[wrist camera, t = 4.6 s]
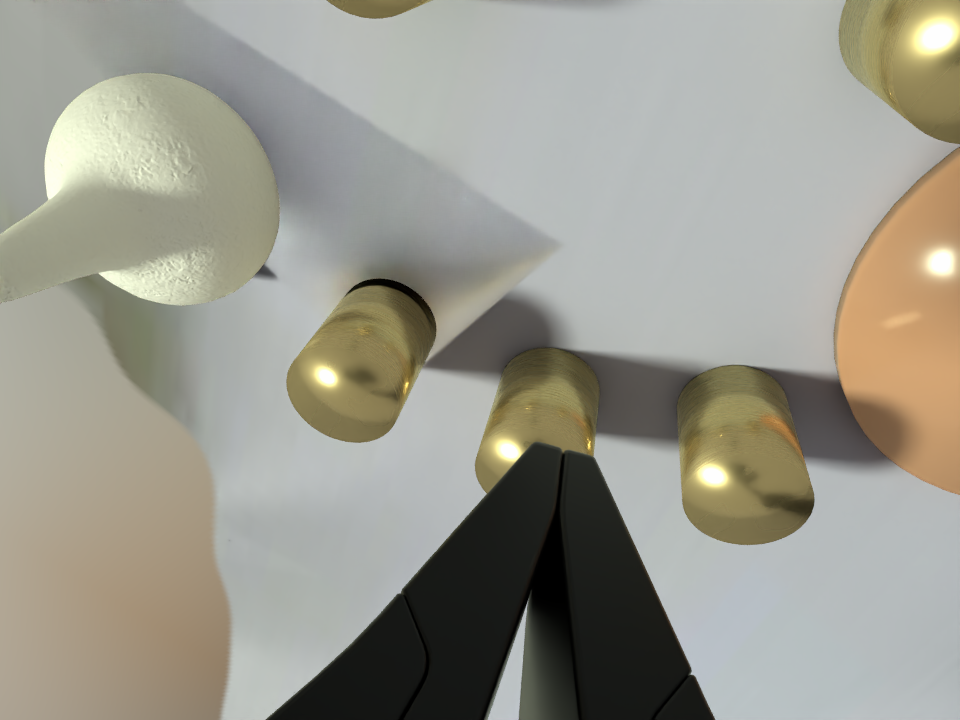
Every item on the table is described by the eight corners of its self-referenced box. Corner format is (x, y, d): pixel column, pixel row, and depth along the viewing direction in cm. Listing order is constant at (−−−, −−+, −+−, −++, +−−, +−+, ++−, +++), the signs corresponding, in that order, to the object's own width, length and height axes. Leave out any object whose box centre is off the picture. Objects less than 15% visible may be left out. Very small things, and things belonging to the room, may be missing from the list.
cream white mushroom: (307, 284, 22) (161, 447, 15) (129, 257, 22) (-83, 400, 16) (286, 75, 18) (83, 170, 12) (76, 52, 19) (-225, 128, 12)
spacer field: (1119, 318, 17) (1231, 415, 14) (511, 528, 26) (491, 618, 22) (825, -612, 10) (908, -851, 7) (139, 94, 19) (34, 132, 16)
